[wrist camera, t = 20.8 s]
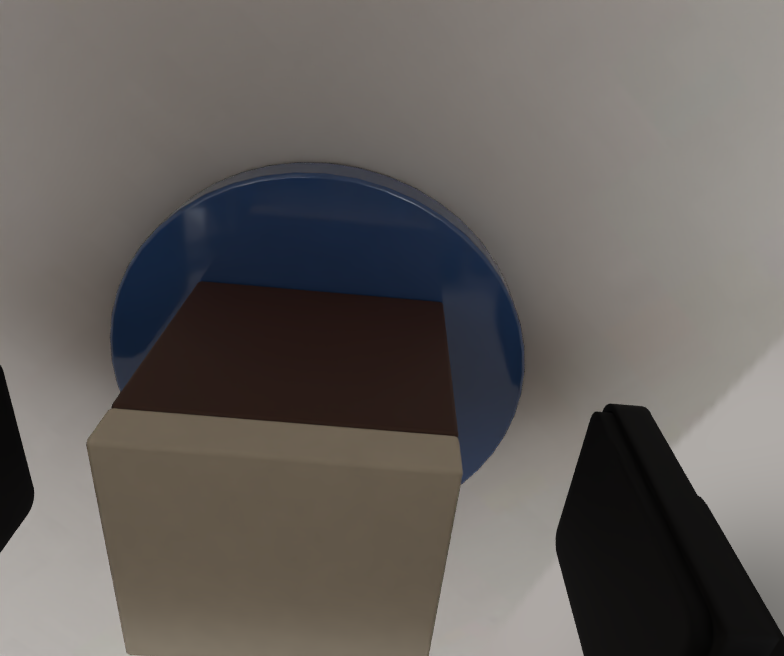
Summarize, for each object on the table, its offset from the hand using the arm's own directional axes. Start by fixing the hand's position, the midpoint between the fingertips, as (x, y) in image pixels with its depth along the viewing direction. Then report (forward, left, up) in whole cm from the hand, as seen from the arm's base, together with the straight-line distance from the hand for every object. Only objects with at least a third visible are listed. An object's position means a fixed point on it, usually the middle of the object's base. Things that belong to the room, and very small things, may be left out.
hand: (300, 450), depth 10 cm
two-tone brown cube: (0, 0, -2) cm, 2 cm away
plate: (0, 0, -3) cm, 3 cm away
